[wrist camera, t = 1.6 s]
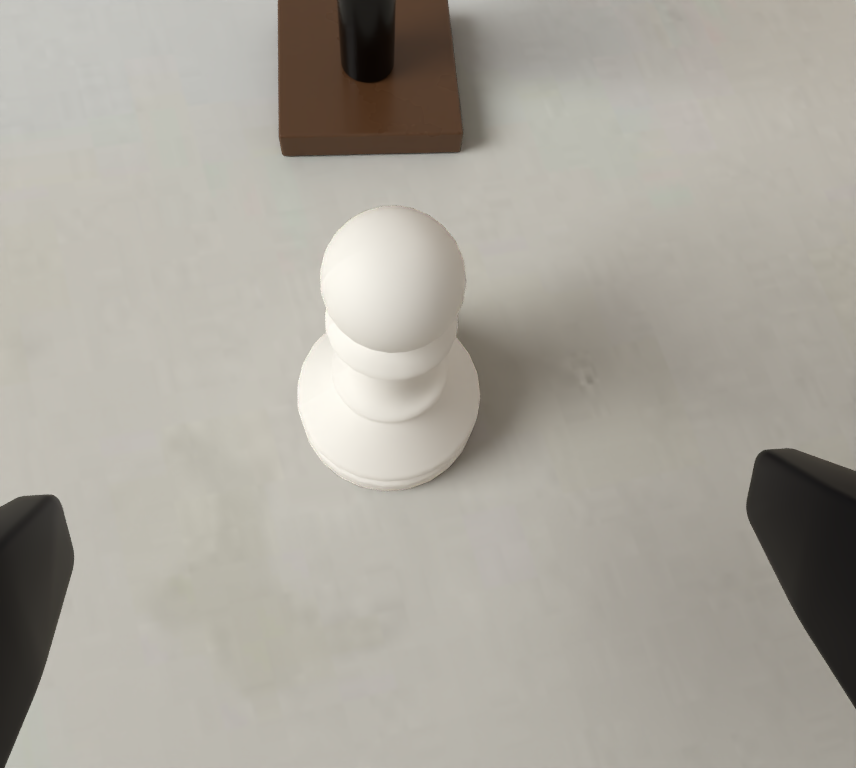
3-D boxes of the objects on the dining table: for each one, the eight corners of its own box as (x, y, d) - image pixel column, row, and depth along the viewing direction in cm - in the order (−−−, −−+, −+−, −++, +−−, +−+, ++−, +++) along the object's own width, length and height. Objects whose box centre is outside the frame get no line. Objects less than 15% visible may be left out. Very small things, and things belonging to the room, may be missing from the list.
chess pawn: (451, 318, 22) (495, 111, 14) (492, 473, 21) (570, 345, 12) (289, 346, 22) (232, 148, 13) (318, 509, 20) (273, 400, 12)
